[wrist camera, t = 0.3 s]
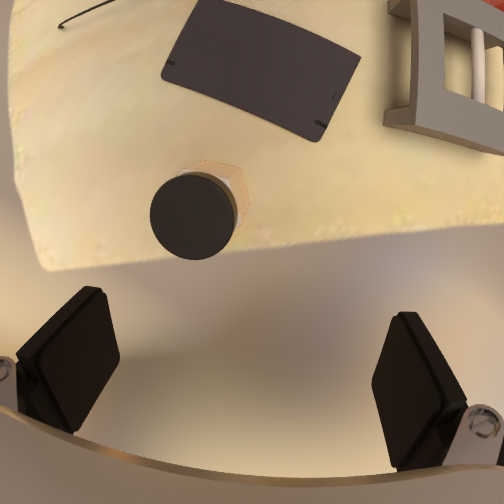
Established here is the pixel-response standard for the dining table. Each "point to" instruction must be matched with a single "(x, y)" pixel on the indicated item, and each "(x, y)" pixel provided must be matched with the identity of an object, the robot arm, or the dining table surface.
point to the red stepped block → (496, 4)
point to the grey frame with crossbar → (433, 73)
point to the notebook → (261, 66)
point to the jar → (199, 210)
